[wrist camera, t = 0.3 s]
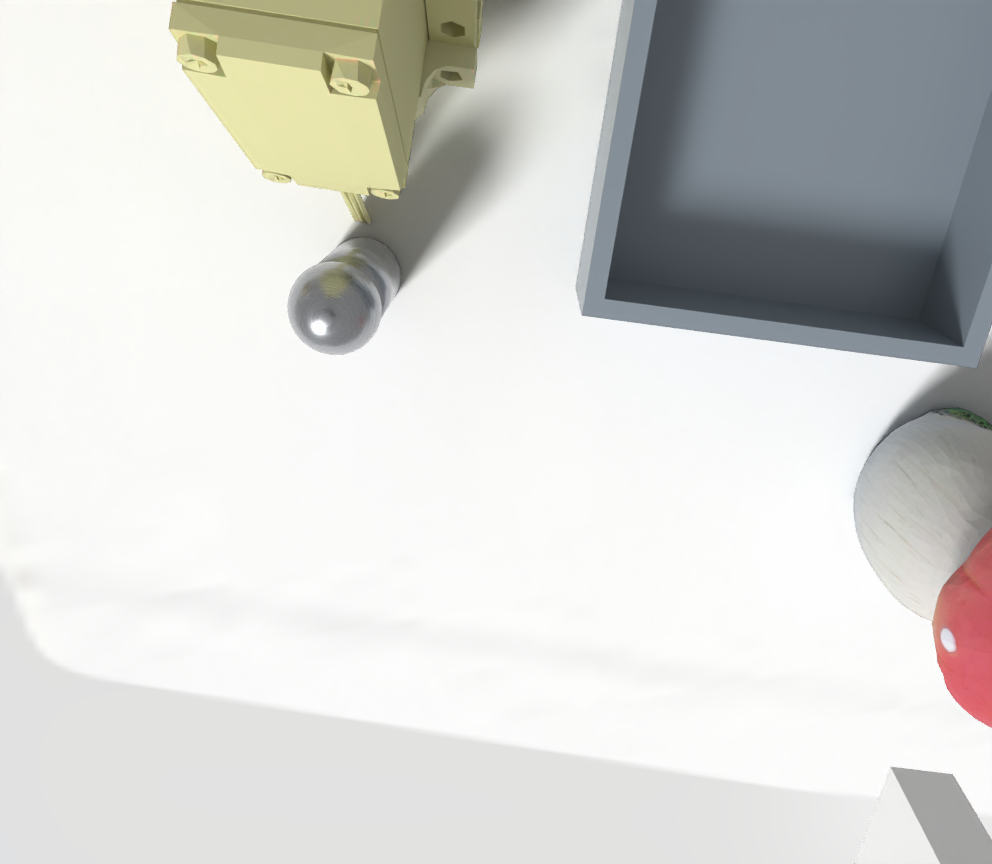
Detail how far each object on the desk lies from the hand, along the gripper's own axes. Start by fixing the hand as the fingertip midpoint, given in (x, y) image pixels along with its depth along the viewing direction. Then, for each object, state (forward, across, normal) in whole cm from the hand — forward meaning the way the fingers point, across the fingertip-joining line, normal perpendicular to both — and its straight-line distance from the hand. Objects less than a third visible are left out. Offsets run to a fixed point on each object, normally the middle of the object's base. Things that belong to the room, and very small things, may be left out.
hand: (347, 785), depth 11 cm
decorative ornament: (+27, +20, -6) cm, 35 cm away
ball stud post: (+27, -5, 0) cm, 27 cm away
